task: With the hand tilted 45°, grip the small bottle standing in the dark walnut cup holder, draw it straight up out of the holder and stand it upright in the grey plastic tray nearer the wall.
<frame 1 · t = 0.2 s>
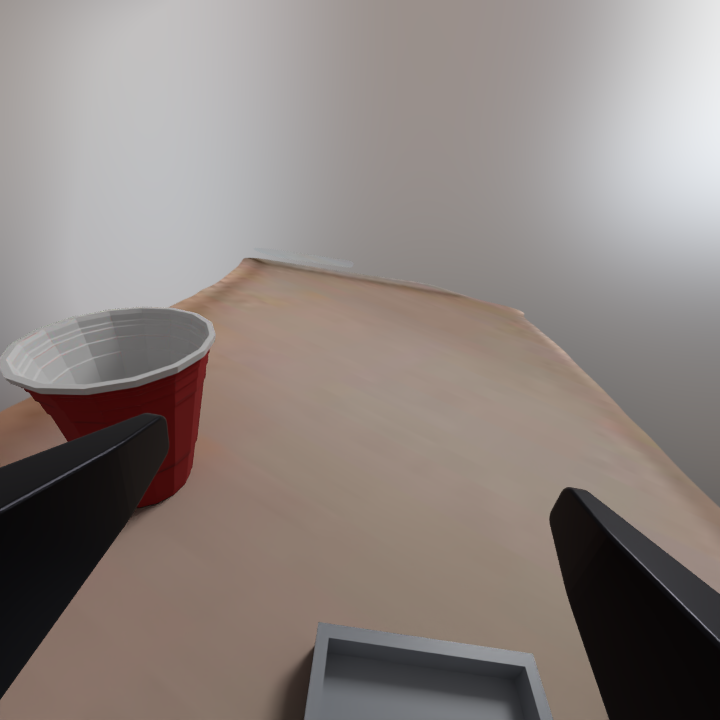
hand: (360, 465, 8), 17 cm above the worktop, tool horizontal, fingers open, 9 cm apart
plastic cup: (146, 479, 27), on the worktop
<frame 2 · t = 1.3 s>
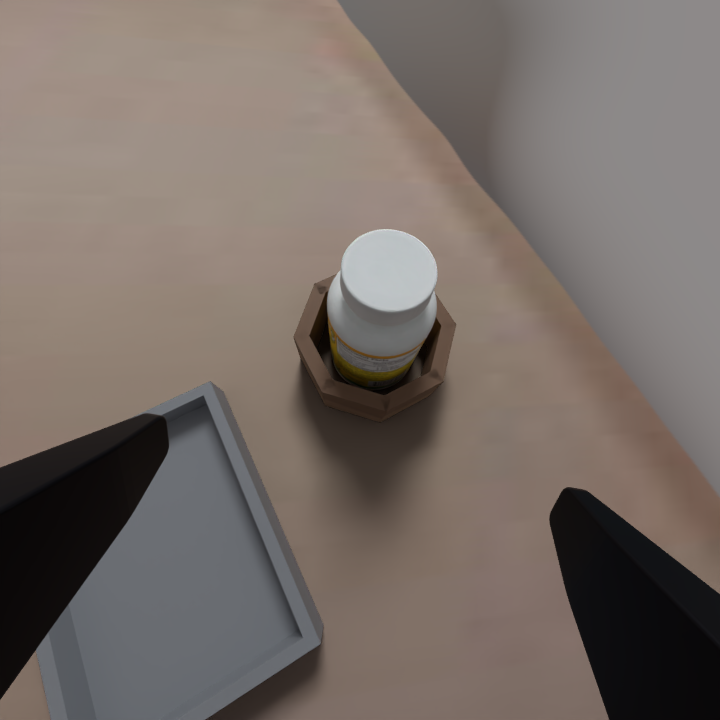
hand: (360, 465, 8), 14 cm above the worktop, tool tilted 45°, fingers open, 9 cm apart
tray: (174, 548, 19), on the worktop
supplement bottle: (371, 353, 24), resting in cup holder
cup holder: (371, 352, 23), on the worktop
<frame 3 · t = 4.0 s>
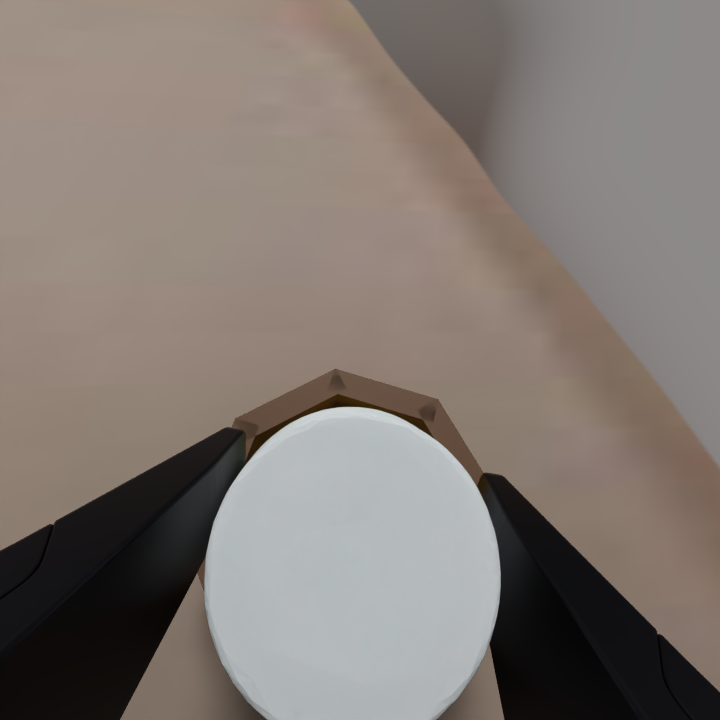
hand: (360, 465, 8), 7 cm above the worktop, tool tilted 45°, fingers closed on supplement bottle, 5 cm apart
supplement bottle: (347, 509, 14), resting in cup holder, touching gripper
cup holder: (347, 510, 14), on the worktop
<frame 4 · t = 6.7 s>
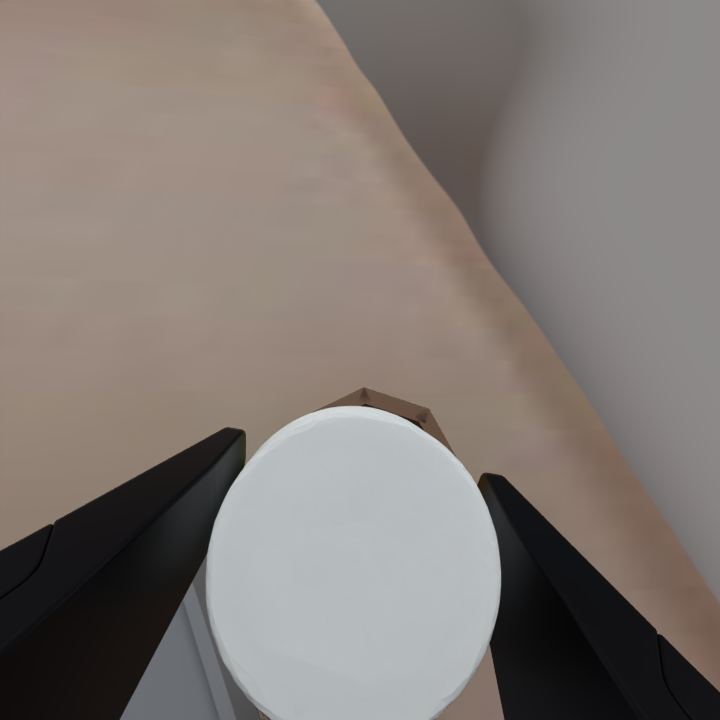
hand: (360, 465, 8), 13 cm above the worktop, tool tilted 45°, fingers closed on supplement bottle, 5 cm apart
supplement bottle: (347, 508, 14), point 7 cm above the worktop, touching gripper
cup holder: (367, 479, 20), on the worktop
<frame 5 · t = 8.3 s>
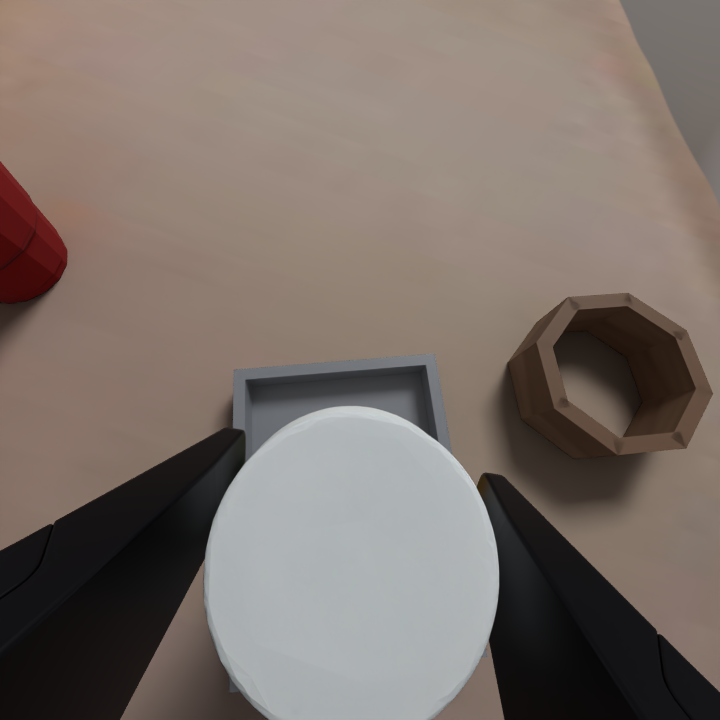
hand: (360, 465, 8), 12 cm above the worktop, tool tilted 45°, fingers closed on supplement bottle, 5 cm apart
tray: (347, 495, 19), on the worktop
plastic cup: (21, 267, 23), on the worktop
supplement bottle: (349, 508, 14), point 6 cm above the worktop, touching gripper
cup holder: (581, 384, 22), on the worktop
when the fingers open (9 cm above the worktop, at t = 9.4 s): supplement bottle drops 1 cm, resting on tray.
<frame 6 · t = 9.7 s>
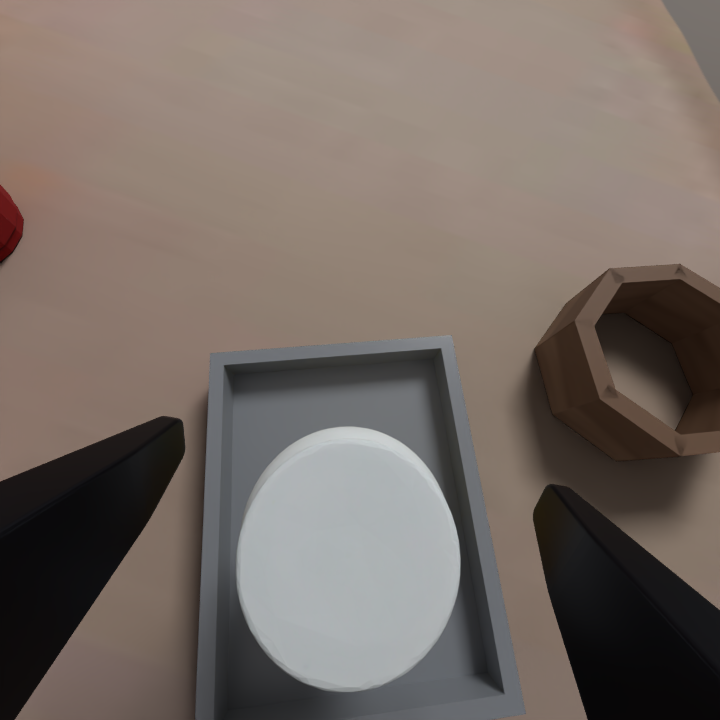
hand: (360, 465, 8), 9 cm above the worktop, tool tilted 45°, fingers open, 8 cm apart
tray: (346, 505, 16), on the worktop
supplement bottle: (345, 512, 15), point 1 cm above the worktop, touching tray
cup holder: (620, 373, 19), on the worktop
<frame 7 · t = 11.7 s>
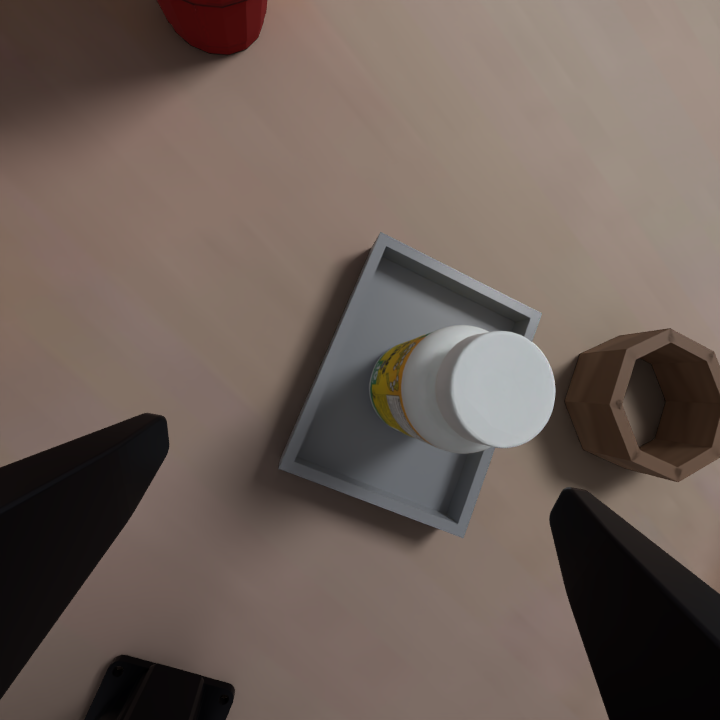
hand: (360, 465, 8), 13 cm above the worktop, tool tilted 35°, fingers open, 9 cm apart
tray: (408, 384, 22), on the worktop
plastic cup: (212, 13, 21), on the worktop
supplement bottle: (409, 386, 21), point 1 cm above the worktop, touching tray
cup holder: (621, 401, 25), on the worktop
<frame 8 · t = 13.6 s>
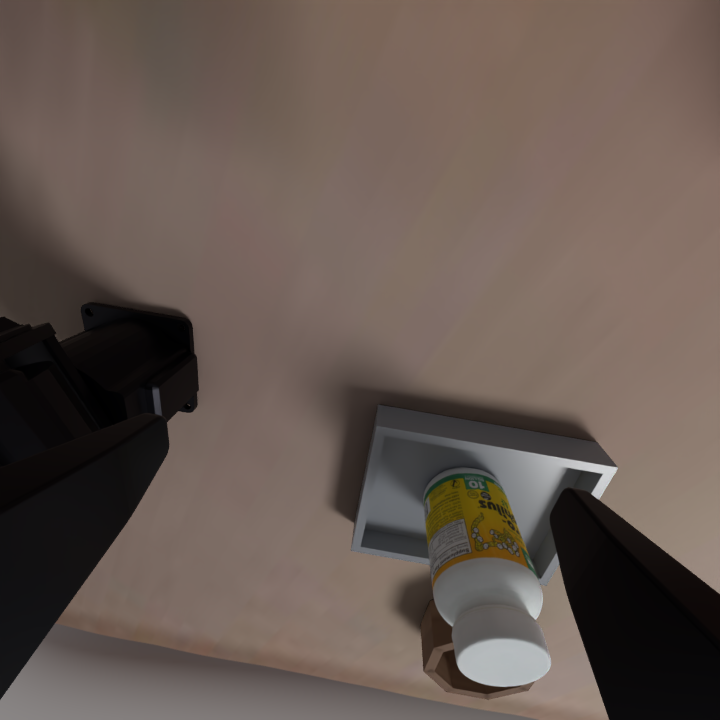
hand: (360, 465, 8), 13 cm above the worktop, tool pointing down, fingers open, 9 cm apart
tray: (463, 487, 25), on the worktop
supplement bottle: (462, 492, 24), point 1 cm above the worktop, touching tray
cup holder: (473, 621, 31), on the worktop
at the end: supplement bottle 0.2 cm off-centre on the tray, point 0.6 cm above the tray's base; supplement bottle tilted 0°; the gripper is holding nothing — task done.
